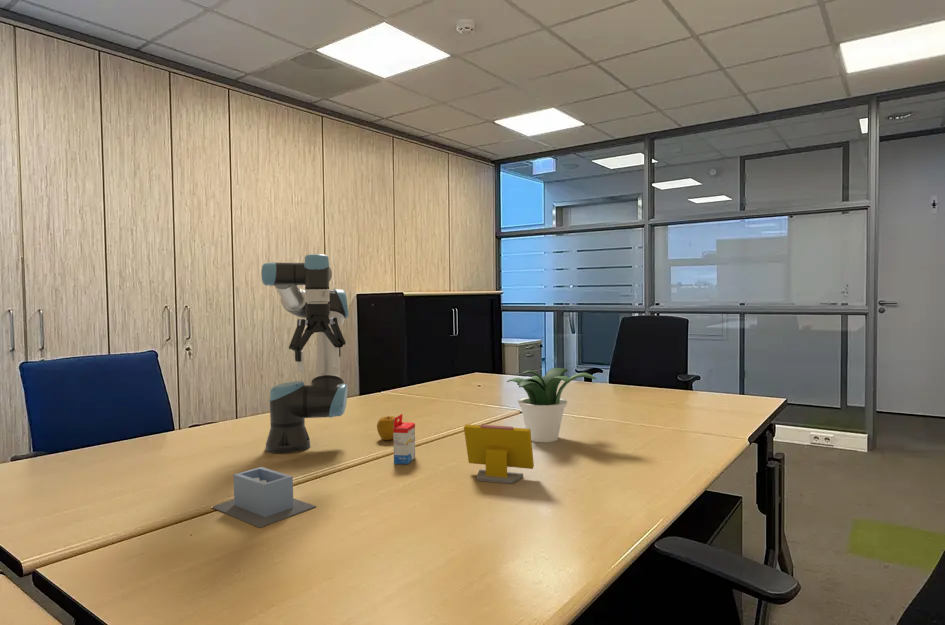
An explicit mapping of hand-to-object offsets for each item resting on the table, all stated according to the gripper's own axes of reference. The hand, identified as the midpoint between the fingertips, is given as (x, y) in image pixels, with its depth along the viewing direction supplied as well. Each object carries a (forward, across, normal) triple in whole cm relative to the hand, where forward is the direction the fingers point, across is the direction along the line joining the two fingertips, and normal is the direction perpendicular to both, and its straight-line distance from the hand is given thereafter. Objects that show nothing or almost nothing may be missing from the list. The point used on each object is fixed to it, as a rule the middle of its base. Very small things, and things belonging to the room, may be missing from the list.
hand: (318, 369), depth 181 cm
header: (+31, -32, -18) cm, 48 cm away
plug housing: (+30, -32, -18) cm, 48 cm away
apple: (+31, +35, +5) cm, 47 cm away
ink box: (+31, +19, -19) cm, 41 cm away
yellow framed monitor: (+31, +22, -54) cm, 66 cm away
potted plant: (+31, +71, -44) cm, 89 cm away
